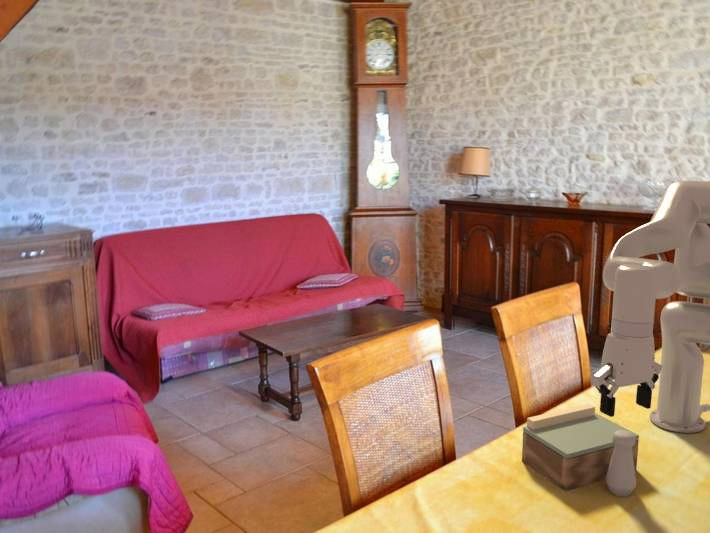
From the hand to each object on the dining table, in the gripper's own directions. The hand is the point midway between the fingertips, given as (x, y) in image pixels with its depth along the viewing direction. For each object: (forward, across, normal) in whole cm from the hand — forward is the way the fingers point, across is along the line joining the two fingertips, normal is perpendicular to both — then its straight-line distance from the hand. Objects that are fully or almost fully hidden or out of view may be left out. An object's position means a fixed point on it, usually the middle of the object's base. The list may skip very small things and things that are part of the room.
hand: (625, 410), depth 128 cm
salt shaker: (+18, -1, 0) cm, 18 cm away
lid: (+11, -1, -12) cm, 16 cm away
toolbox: (+18, -1, -12) cm, 22 cm away
